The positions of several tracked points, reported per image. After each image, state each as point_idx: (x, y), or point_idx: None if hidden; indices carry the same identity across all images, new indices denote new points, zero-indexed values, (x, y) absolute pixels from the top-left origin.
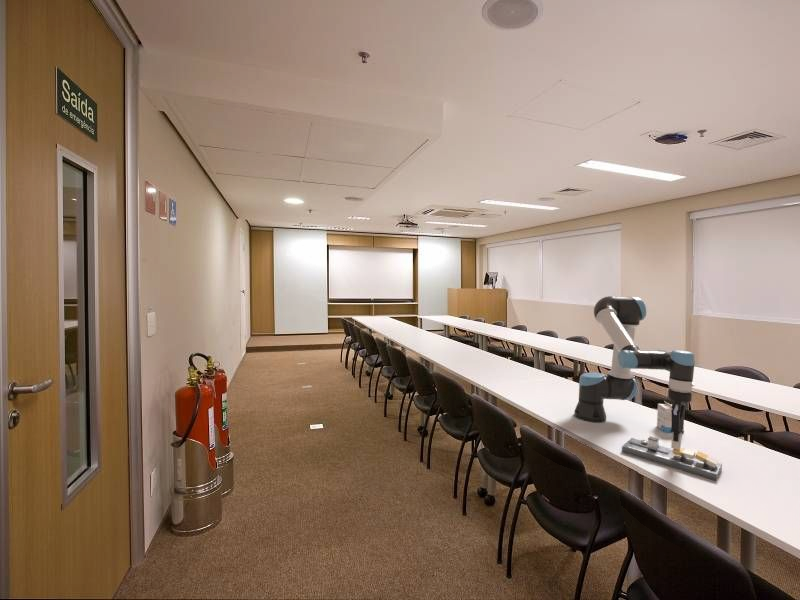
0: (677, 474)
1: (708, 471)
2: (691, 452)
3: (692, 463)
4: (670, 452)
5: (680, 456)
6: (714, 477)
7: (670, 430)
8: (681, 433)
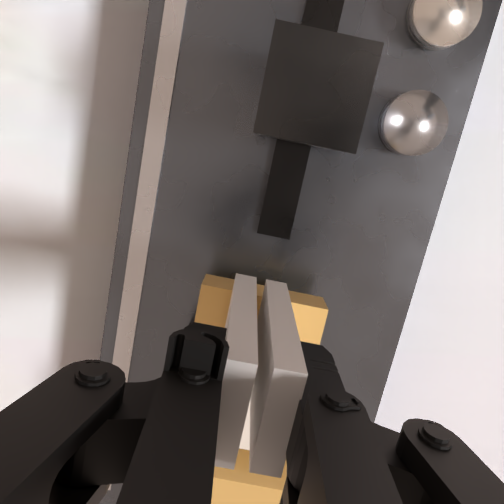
0: (22, 281)
1: None
2: (249, 429)
3: None
4: (322, 251)
5: None
6: None
7: (181, 342)
8: (267, 470)
